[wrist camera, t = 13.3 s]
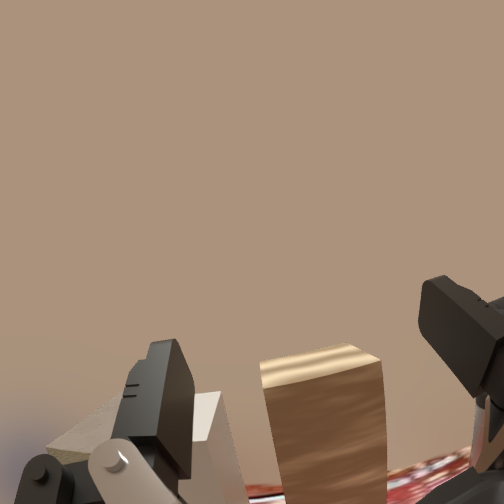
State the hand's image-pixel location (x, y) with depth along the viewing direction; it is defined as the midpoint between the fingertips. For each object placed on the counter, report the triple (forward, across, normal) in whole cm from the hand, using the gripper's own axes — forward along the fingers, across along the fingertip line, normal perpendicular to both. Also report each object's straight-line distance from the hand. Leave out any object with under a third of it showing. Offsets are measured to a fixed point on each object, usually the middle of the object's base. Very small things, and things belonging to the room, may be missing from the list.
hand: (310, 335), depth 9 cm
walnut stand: (+5, -3, +49) cm, 50 cm away
